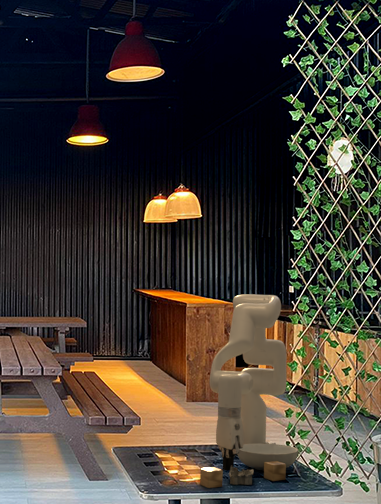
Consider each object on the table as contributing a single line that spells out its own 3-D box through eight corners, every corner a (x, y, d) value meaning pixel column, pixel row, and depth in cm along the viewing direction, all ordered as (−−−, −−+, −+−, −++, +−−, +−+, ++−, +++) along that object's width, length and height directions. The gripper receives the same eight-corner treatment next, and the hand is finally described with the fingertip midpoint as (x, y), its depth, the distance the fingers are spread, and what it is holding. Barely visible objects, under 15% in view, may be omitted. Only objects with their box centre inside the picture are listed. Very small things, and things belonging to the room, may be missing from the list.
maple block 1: (213, 483, 264) (214, 466, 264) (222, 486, 259) (222, 470, 259) (200, 484, 261) (200, 468, 261) (208, 488, 257) (208, 471, 257)
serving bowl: (307, 467, 292) (307, 447, 292) (282, 477, 274) (282, 456, 274) (253, 460, 302) (253, 440, 302) (225, 469, 284) (225, 448, 284)
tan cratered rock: (230, 477, 272) (230, 464, 273) (253, 478, 272) (253, 465, 272) (228, 484, 262) (228, 471, 262) (252, 485, 261) (252, 472, 261)
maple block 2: (276, 476, 276) (276, 460, 276) (285, 479, 271) (285, 463, 272) (263, 477, 273) (264, 462, 273) (272, 481, 269) (273, 465, 269)
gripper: (252, 415, 270) (250, 473, 269) (227, 408, 283) (225, 464, 282) (232, 416, 266) (230, 475, 265) (207, 409, 279) (206, 466, 278)
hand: (228, 469), depth 274 cm, fingers closed
